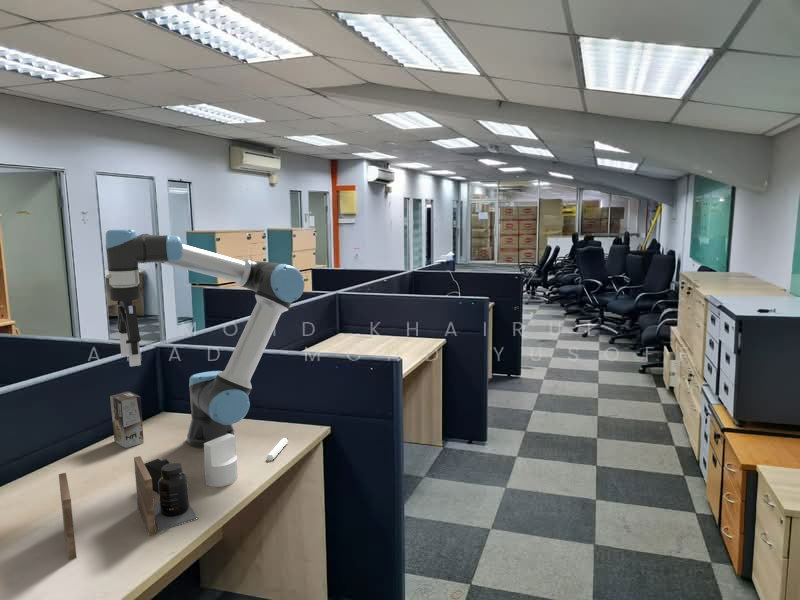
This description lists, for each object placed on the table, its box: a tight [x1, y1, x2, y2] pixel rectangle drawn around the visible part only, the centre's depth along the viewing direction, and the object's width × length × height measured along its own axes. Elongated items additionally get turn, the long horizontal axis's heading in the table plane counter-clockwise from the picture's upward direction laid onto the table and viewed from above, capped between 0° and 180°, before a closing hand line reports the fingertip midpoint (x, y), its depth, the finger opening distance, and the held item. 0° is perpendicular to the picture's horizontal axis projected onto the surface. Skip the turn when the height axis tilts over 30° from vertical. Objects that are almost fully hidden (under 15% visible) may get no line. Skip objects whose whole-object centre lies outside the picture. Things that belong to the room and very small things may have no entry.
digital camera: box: [144, 458, 171, 495], centre depth 155 cm, size 10×5×7 cm, turn 54°
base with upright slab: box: [203, 434, 239, 488], centre depth 160 cm, size 9×9×12 cm
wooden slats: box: [58, 455, 157, 560], centre depth 133 cm, size 18×15×14 cm
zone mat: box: [154, 502, 199, 531], centre depth 143 cm, size 9×13×1 cm
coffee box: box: [109, 390, 145, 449], centre depth 186 cm, size 9×6×16 cm
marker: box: [266, 437, 289, 461], centre depth 181 cm, size 3×2×16 cm
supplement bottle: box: [158, 462, 190, 517], centre depth 142 cm, size 7×7×12 cm
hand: (130, 360), depth 158 cm, fingers open, 13 cm apart
